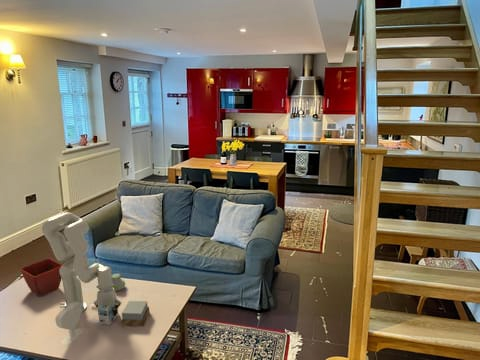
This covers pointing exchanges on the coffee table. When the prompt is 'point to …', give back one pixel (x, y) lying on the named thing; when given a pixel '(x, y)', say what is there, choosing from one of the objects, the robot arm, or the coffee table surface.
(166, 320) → the coffee table surface
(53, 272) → the plant pot
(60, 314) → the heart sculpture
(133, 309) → the tower top block
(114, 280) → the air freshener
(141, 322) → the tower base block
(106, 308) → the light bulb box
